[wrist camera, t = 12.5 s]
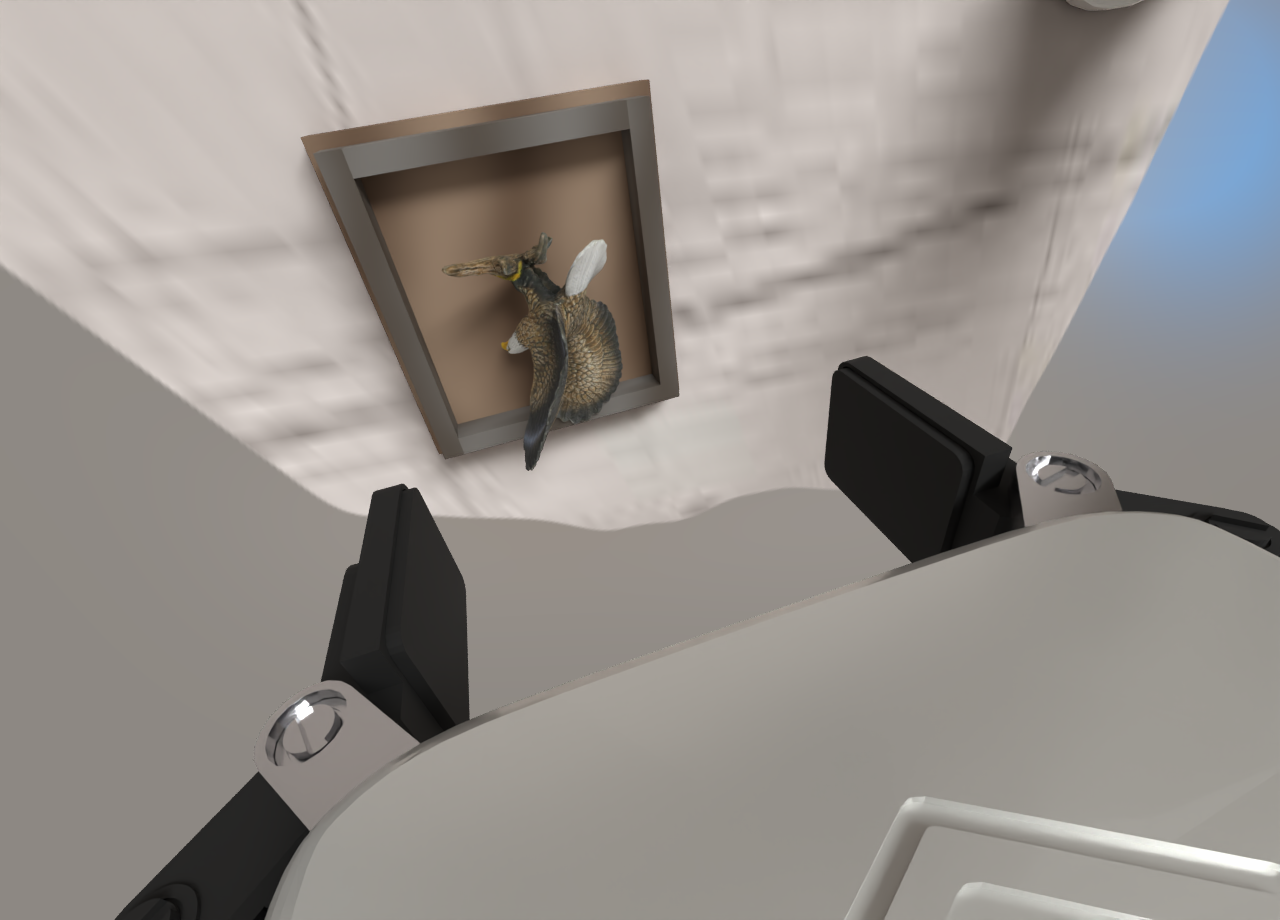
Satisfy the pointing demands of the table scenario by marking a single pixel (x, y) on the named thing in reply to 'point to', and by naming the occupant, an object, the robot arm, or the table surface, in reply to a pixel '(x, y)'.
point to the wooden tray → (504, 245)
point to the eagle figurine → (558, 337)
